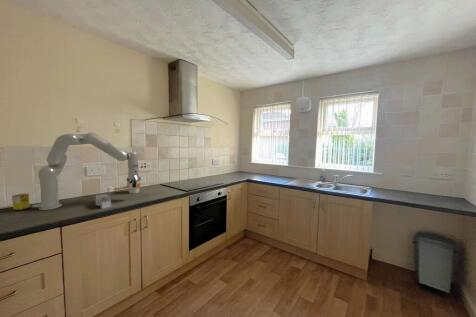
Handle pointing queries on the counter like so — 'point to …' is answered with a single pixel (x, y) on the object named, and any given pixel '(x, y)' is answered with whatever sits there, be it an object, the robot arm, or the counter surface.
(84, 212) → the counter surface
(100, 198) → the housing
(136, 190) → the reusable coffee cup
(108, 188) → the wooden dumbbell
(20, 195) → the supplement box
